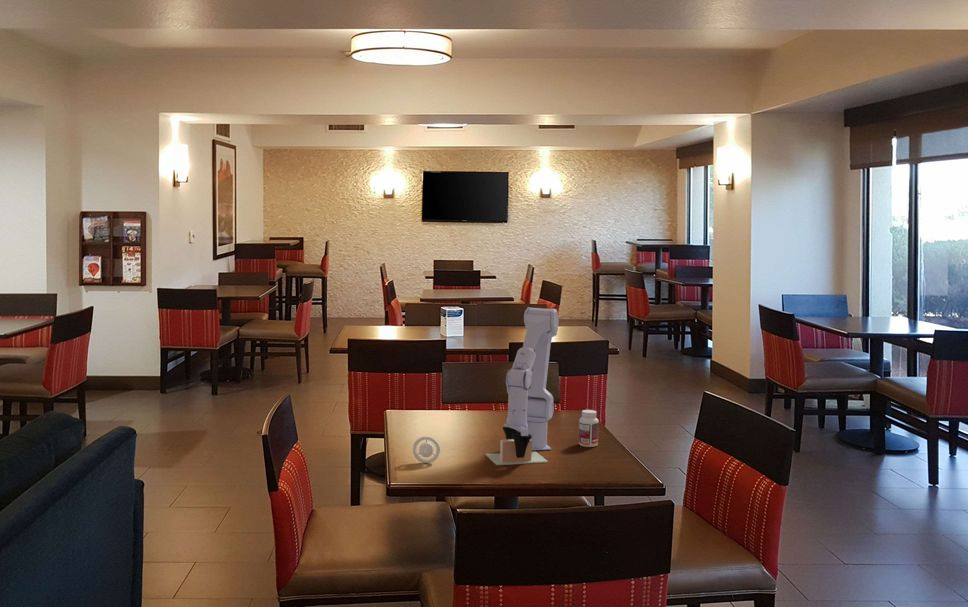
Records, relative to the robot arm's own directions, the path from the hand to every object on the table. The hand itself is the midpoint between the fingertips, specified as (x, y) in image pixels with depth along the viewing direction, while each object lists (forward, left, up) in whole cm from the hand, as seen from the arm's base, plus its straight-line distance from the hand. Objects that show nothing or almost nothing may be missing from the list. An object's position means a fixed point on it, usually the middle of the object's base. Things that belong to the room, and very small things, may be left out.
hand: (516, 454), depth 267 cm
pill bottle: (-14, +29, -2) cm, 32 cm away
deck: (0, 0, -2) cm, 2 cm away
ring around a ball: (-2, -27, -2) cm, 27 cm away
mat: (-2, +1, -2) cm, 3 cm away
